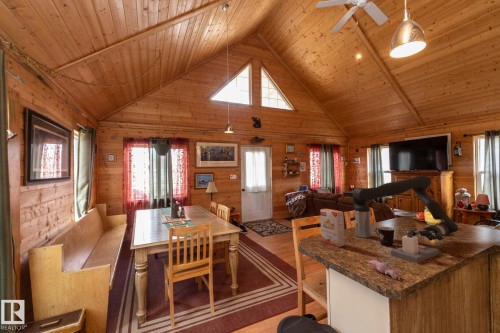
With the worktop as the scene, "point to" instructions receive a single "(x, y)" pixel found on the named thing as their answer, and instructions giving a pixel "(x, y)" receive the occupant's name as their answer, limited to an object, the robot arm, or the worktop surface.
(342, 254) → the worktop surface
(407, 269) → the worktop surface
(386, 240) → the coffee mug
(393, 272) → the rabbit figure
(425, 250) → the socket
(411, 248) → the plug
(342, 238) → the cracker box
